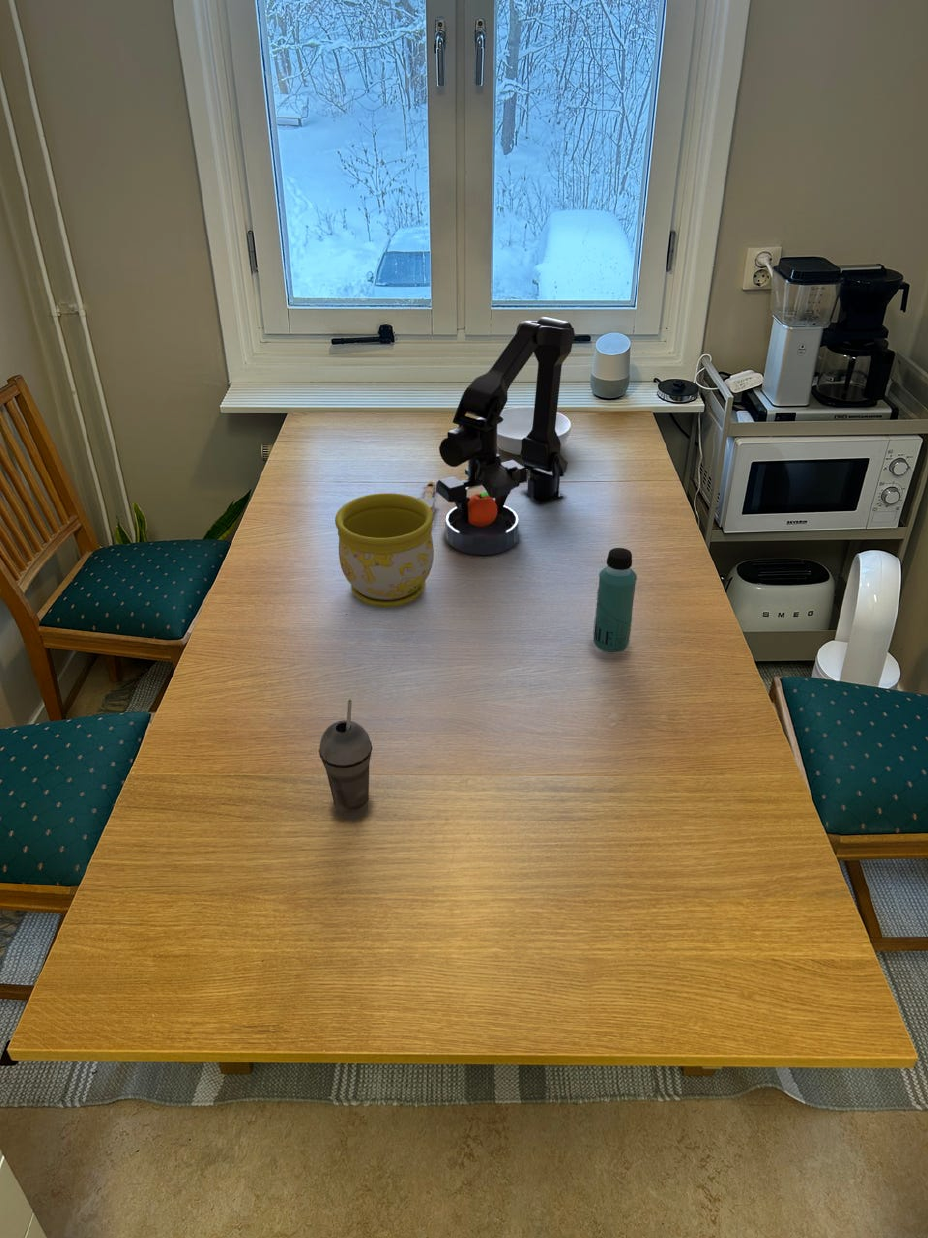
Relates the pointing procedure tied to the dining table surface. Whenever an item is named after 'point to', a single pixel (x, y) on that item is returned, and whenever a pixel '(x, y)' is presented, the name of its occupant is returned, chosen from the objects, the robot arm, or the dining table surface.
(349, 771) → the beverage cup
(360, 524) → the flowerpot
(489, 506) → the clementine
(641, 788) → the dining table surface
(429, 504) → the paintbrush
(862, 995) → the dining table surface
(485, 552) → the fruit bowl
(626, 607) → the beverage bottle
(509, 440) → the serving bowl
